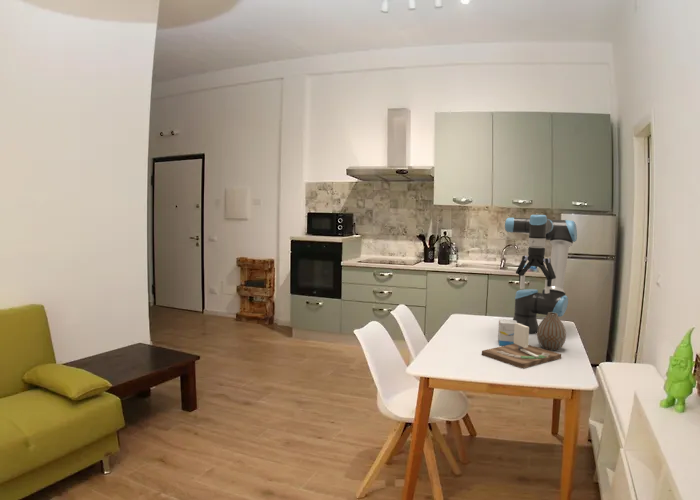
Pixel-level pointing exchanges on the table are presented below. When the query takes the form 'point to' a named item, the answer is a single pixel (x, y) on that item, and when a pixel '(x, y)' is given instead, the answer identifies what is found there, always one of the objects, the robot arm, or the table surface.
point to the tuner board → (521, 355)
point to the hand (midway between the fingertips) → (534, 291)
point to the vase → (551, 332)
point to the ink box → (506, 332)
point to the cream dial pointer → (522, 338)
